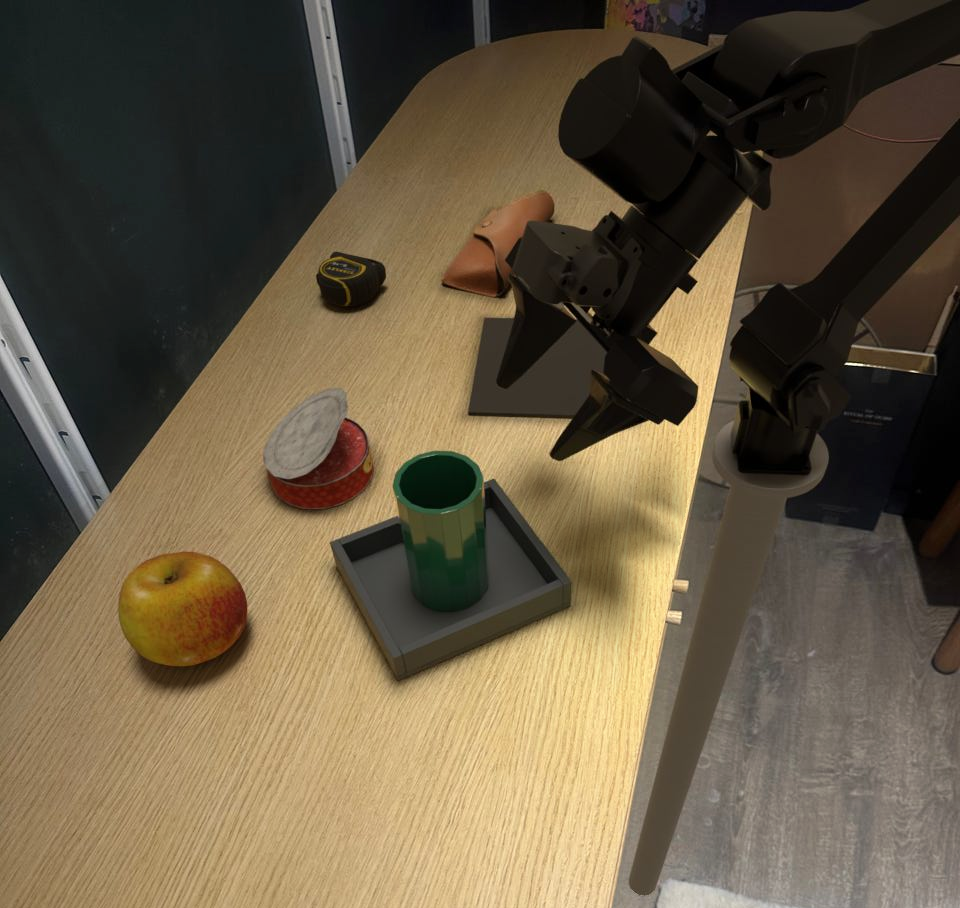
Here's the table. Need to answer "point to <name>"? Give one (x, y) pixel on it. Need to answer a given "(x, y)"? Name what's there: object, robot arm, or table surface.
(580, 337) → the mat
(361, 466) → the canned food
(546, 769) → the table surface
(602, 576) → the table surface
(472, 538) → the cup
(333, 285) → the tape measure
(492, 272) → the sunglasses case
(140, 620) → the fruit
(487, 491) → the tray
